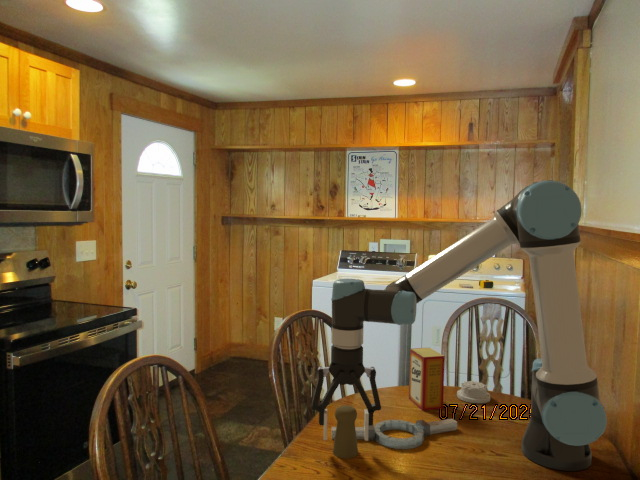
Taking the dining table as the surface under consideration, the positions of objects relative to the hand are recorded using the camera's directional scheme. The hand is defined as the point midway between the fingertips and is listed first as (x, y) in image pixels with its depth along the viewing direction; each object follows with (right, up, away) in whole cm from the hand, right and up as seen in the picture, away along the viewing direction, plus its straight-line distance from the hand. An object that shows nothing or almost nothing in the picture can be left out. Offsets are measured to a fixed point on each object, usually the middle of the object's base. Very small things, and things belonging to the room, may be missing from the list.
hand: (345, 437), depth 122 cm
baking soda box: (+26, -2, +32) cm, 41 cm away
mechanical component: (+42, -2, +37) cm, 56 cm away
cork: (0, -4, 0) cm, 4 cm away
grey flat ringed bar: (+14, -3, +8) cm, 16 cm away
